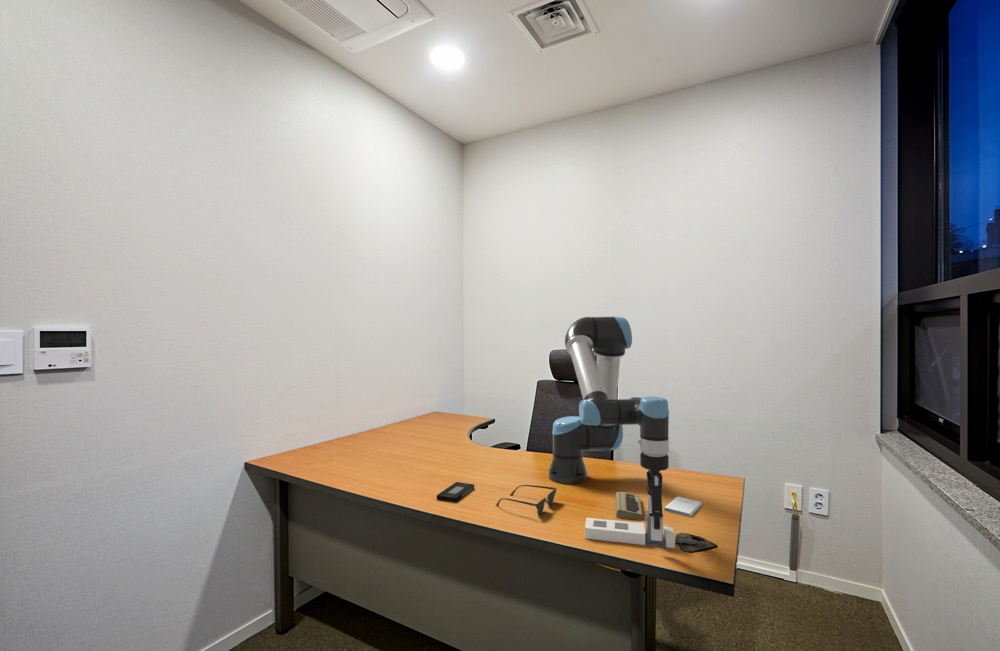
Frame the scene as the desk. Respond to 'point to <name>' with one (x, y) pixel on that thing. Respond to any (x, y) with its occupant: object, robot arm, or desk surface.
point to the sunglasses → (541, 504)
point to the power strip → (628, 533)
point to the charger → (648, 528)
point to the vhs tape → (455, 492)
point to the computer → (628, 506)
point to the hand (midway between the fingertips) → (654, 528)
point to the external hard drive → (683, 506)
